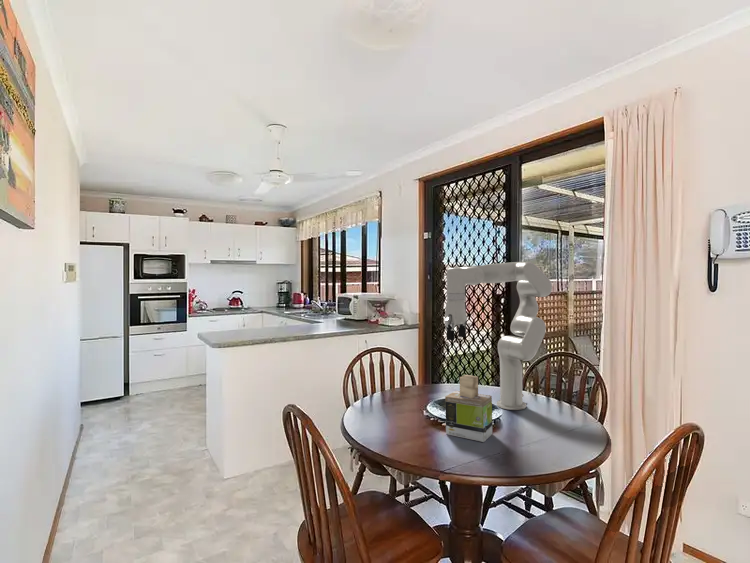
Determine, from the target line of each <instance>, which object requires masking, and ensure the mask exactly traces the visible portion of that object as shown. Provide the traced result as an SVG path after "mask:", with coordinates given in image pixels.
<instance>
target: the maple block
mask: <svg viewBox="0 0 750 563" xmlns="http://www.w3.org/2000/svg"><path fill="white" fill-rule="evenodd" d="M459 391H460V396H463V397H468V398H474V397H475V396H477V395H478V394H479V376H476V375H471V374H464V375H462V376H459Z"/></svg>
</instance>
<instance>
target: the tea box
mask: <svg viewBox="0 0 750 563" xmlns="http://www.w3.org/2000/svg"><path fill="white" fill-rule="evenodd" d="M444 398H445V400H444V401H445V403H444V407H445V433H446V435H448V436H453V437H459V438H462V439H468V440H473V441H477V442H480V443H485V442H486V441H487V440H488V439H489V438H490V437H491V436H492V435H493V399H492V398H493V396H492V395H490V394H489V395H488V394H481V393H478V395H477V396H475V397H474V398H468V397H463V396H460V390H454V391H452V392H451V393H449V394H447V395H446V396H444Z"/></svg>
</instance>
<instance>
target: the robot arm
mask: <svg viewBox="0 0 750 563" xmlns="http://www.w3.org/2000/svg"><path fill="white" fill-rule="evenodd" d="M509 282H517V284H516V291H517V294H518V297H519V305H518V308H517V310H516V312H515V315H514V317H513V319H512V320H511V323H510V328H509V329H510V332H511V333H512V334H513V335H504V336H502V337H501V338H499V340H498V342H497V353H498V356H499V357H498V358H499V377H500V378H499V380H500V381H499V385H500V386H499V390H500V391H499V392H500V393H499V394H500V397H499V400H498V401H496V405H497V407H499V408H500V409H504V410H509V411H521V410H524V409H526V408H527V403H526V402H524V401H523V397H524V393H523V365H522V362H521V361H525V362H526V361H528V362H529V361H531V360H533V359H534V357H535V356H536V354H537V353H538V350H539V348H540V346H541V345H542V342H543V339H544V338H545V335H546V331H547V329H546V328H547V326H546V323H545V321H544V320H543V319H542V318H540V317H537V316H538V313H539V304H538V301H537V299H536V298H537V297H538V298H539V297H540V298H546V297H548V296H550V294H551V293H552V291H553V284H552V282H551V279H550V278H549V277H547V275H546V274H545V273H544V272H543V271H542V270H541V269H540V267H538V265H536V264H535V263H534V262H532V261H513V262H512V261H511V262H501V263H500V262H499V263H489V264H483V265H472V266H460V267H449V268H447V269H446V304H445V314H444V327H445V330H446V340H447V341H455V330H454V329H455V326H458V332H457V333H458V338H459V337H460V338H466V337H467V336H466V335H467V334H466V332H467V323H468V322H467V321H468V315H467V313H466V312H467V309H466V285H468V286H476V285H477V286H478V285H479V284H481V283H483V284H486V283H487V284H501V283H509ZM514 335H515V336H514Z"/></svg>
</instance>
